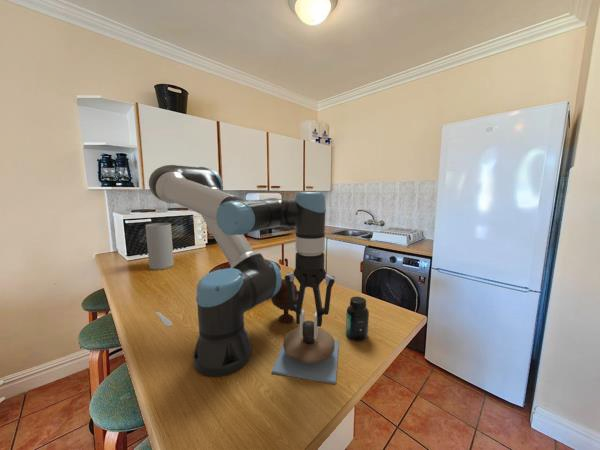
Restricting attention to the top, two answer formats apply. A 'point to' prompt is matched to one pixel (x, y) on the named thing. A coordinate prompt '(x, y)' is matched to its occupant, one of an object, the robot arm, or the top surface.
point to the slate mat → (308, 367)
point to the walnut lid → (308, 344)
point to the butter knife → (164, 319)
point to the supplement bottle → (357, 319)
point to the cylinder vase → (159, 246)
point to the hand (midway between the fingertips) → (308, 335)
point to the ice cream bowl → (284, 302)
